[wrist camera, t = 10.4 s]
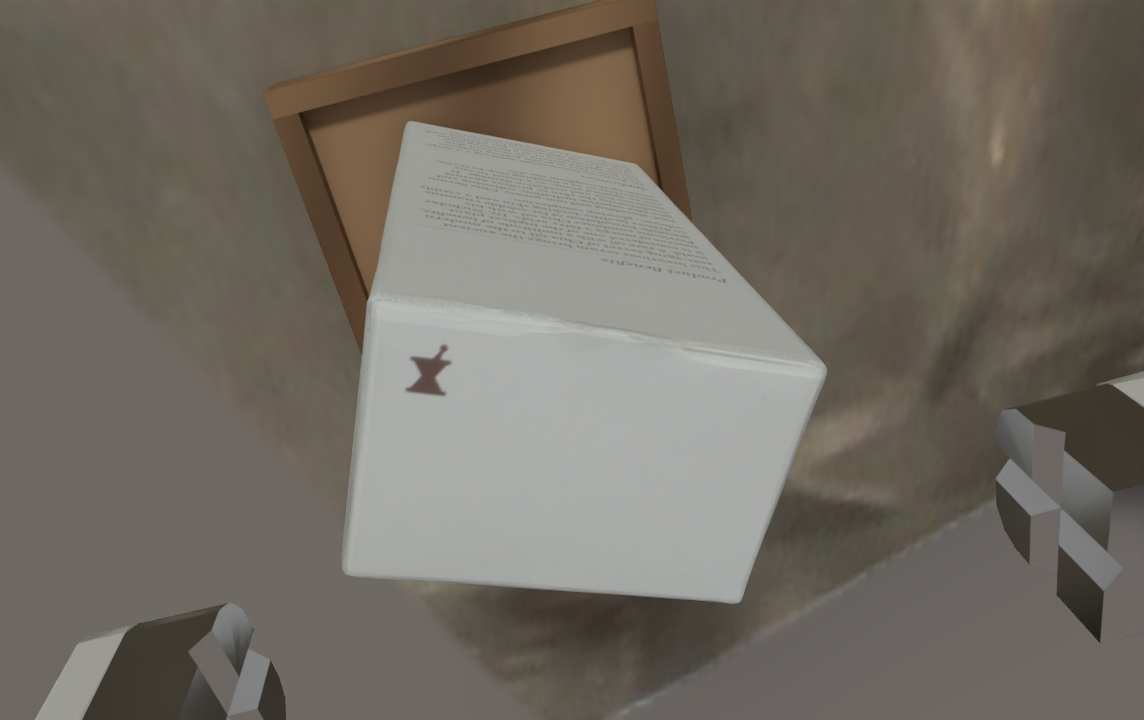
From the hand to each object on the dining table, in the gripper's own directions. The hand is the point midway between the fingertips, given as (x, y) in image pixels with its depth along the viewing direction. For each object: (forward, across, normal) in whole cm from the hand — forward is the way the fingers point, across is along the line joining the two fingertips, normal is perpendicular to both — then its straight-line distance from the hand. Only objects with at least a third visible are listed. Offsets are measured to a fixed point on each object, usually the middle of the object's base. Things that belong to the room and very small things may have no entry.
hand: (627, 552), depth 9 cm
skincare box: (+14, +1, +1) cm, 14 cm away
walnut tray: (+15, +1, +1) cm, 15 cm away
